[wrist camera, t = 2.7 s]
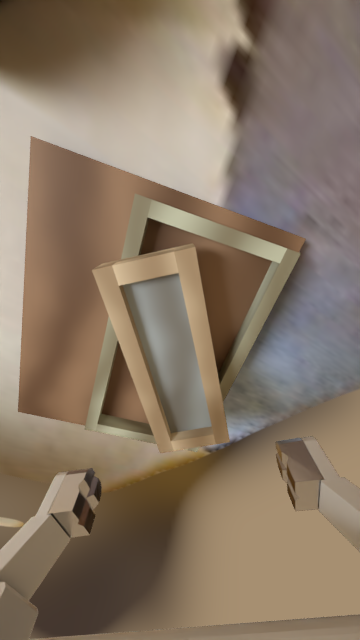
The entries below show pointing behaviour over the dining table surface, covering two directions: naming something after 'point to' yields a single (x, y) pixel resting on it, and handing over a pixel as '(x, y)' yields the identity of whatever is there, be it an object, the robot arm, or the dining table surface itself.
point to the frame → (167, 344)
